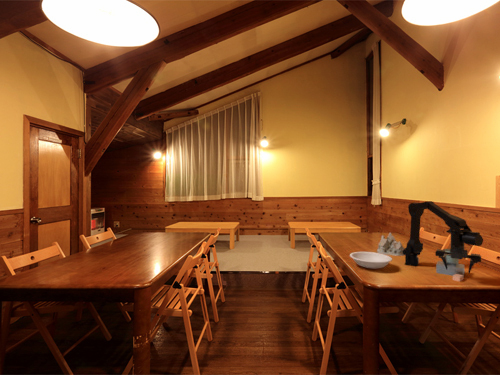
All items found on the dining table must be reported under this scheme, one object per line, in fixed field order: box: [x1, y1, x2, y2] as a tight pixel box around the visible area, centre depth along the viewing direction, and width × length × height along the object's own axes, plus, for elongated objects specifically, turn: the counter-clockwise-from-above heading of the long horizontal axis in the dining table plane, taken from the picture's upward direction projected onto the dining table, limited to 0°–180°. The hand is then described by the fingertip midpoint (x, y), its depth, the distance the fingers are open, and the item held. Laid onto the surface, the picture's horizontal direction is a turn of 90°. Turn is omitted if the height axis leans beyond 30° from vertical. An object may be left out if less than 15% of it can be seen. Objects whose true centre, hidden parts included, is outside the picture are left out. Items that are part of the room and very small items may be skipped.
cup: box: [442, 248, 460, 264], centre depth 158 cm, size 8×8×10 cm
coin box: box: [435, 260, 465, 279], centre depth 146 cm, size 12×9×5 cm
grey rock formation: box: [376, 232, 406, 257], centre depth 191 cm, size 16×16×15 cm
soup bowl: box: [349, 251, 393, 270], centre depth 159 cm, size 24×24×7 cm
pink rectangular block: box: [452, 274, 464, 282], centre depth 136 cm, size 3×5×2 cm, turn 123°
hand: (457, 271), depth 136 cm, fingers open, 9 cm apart
